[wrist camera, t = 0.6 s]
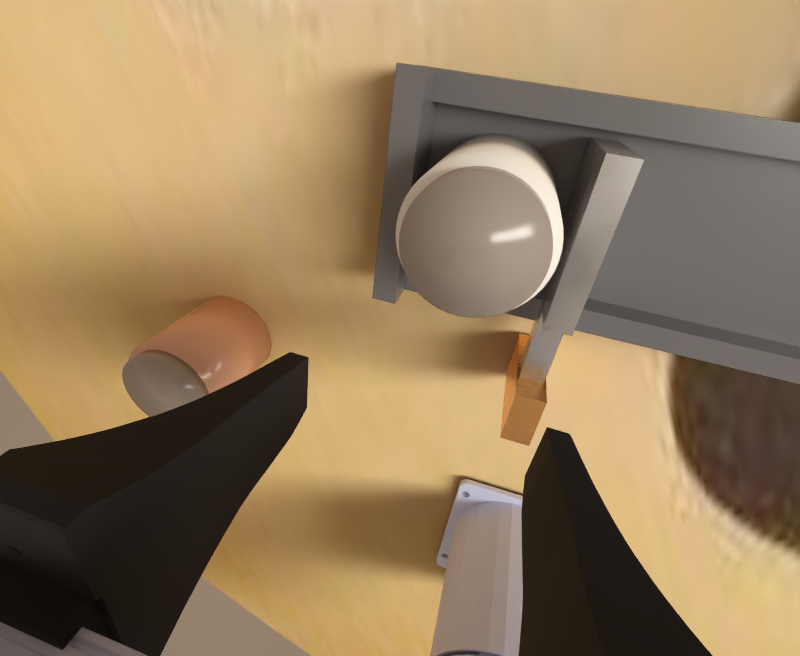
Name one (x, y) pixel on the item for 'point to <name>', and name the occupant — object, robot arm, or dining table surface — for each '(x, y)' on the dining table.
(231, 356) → the terracotta jar
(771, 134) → the lane
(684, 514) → the dining table surface
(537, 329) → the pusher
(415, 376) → the dining table surface
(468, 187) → the cream jar
